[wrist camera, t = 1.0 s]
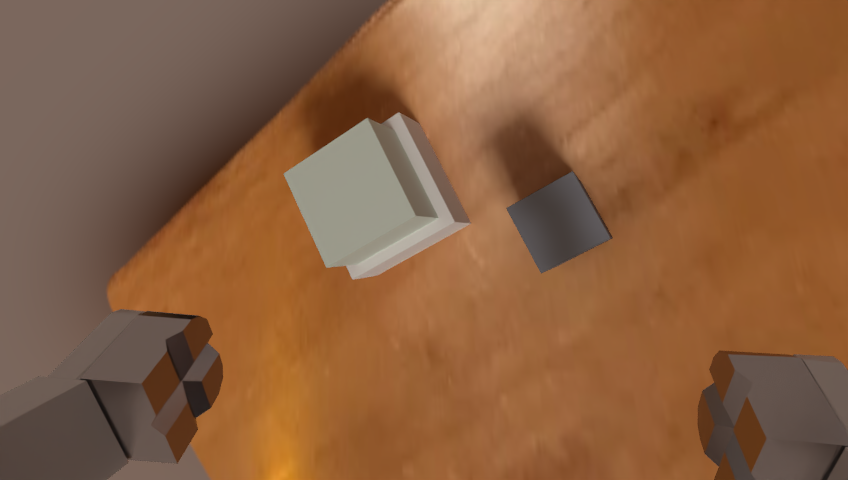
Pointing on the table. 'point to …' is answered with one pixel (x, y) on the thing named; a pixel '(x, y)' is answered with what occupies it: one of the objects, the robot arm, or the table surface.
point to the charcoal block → (559, 222)
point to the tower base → (436, 190)
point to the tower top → (359, 194)
